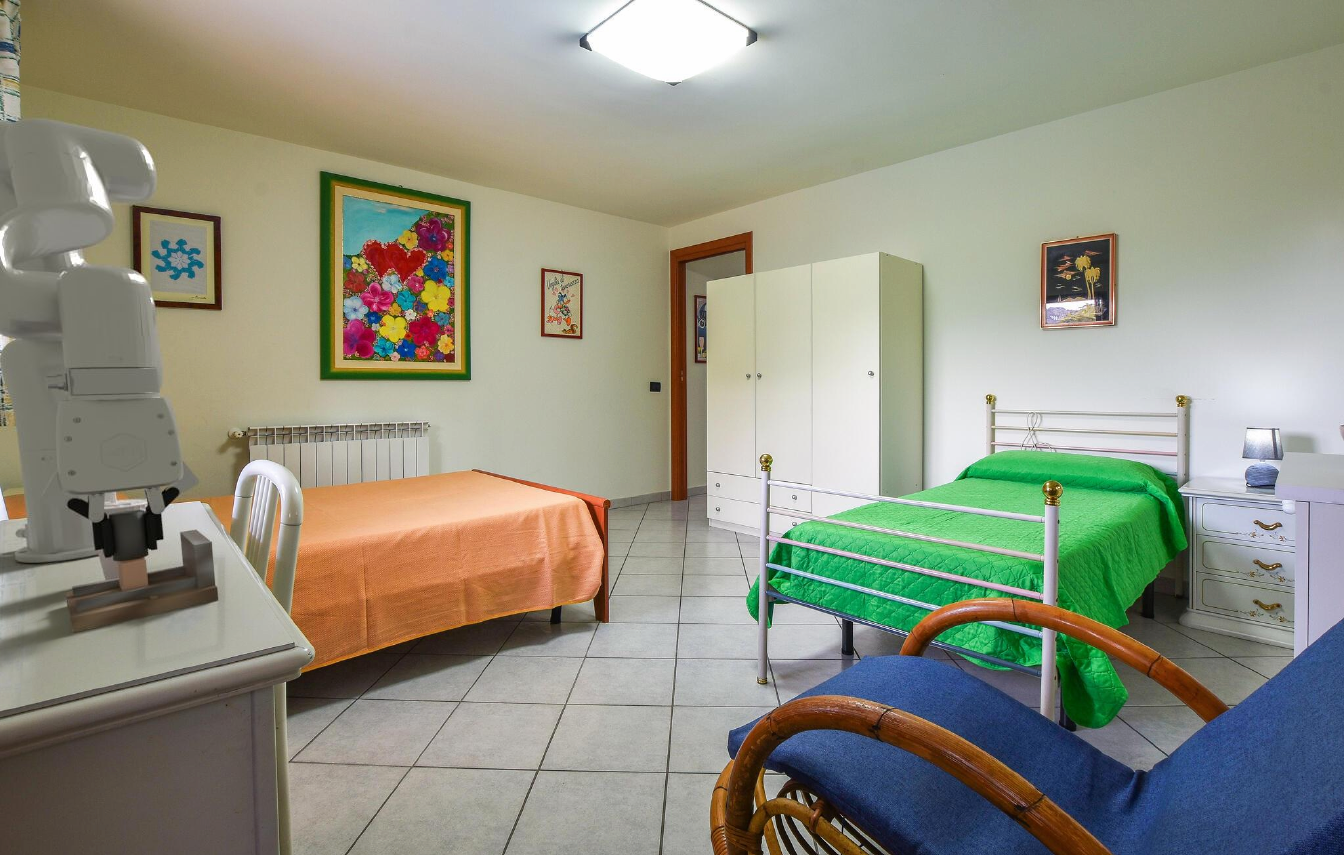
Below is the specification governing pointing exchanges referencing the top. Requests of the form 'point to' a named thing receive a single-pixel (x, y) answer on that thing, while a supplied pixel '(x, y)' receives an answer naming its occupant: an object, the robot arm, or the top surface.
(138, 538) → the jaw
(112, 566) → the smoothie
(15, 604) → the top surface
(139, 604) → the vise base
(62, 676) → the top surface
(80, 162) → the robot arm
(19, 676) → the top surface
